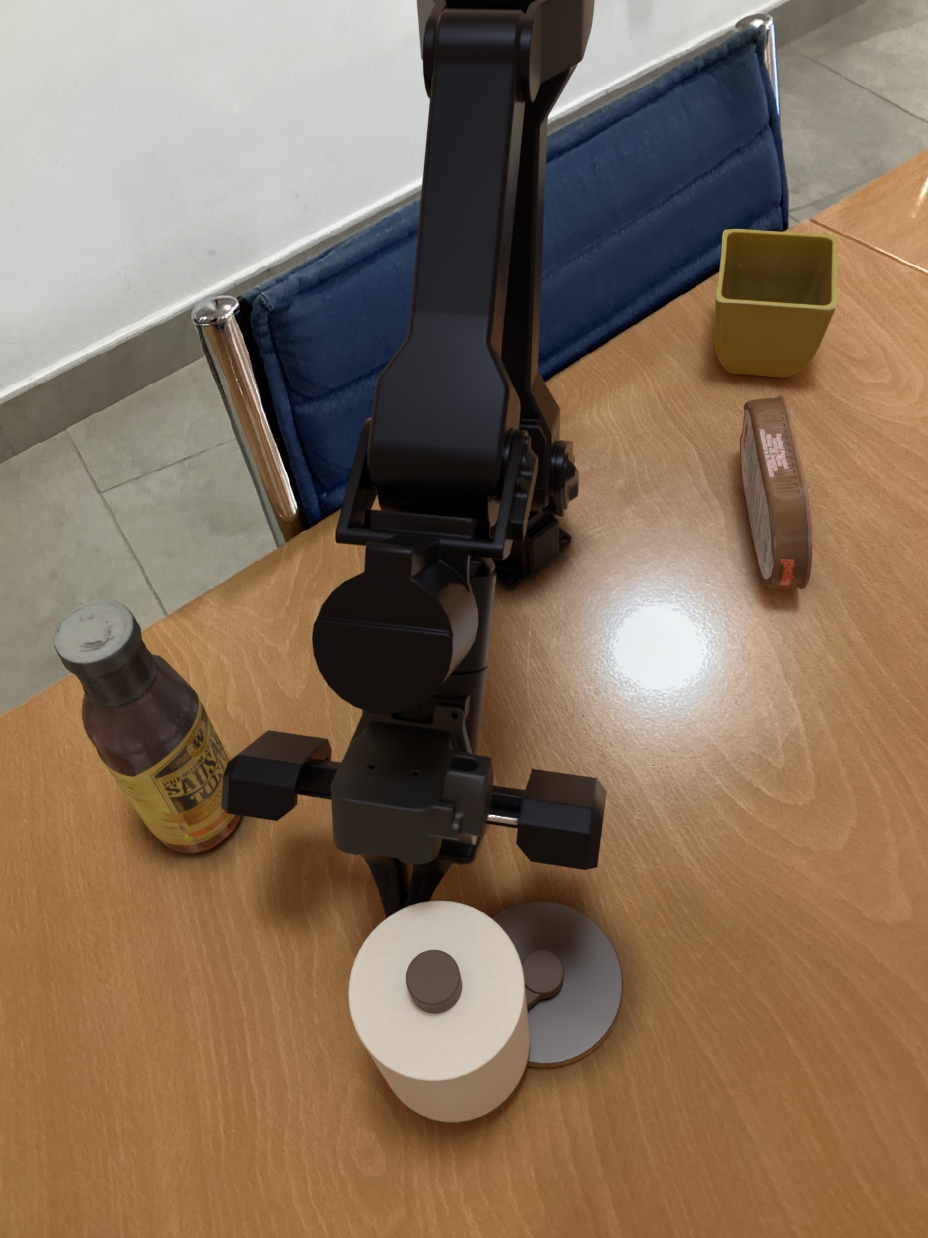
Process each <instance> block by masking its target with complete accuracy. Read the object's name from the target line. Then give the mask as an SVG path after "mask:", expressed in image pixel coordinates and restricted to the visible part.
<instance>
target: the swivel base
mask: <svg viewBox="0 0 928 1238" xmlns="http://www.w3.org/2000/svg"><path fill="white" fill-rule="evenodd" d="M491 918H492V919H493V920H494V921H495V922H496V923H497V924H498V925H499V926H500V927H501V928H502V929H503V930H504V931H505V932H506V934H507V935H508V936H509V938H510V939H511V941H512V943H513V944H514V946H515V948H516V950H517V953H518V955H519V958H520V961H521V963H522V961H523V959H524V958H525V957H526V956H527V955H528V954H529V953H531V952H533V951H536V950H548V951H550V952H552V953H554V954H555V955H556V956H557V957H558V958H559V959H560V960H561V962H562V965H563V968H564V981H563V985H562V987H561V989H560V991H559V992H558V993H557V994H556V995H554V996H553V997H550V998H547V999H540V1000H538V1001H537V1002H536V1003H535V1004H534V1005H532V1006H531V1007H530V1008H529V1009H527V1014H528V1025H529V1037H530V1050H529V1059H528V1063H527V1067H531V1068H539V1069H551V1068H559V1067H564V1066H568V1065H571V1064H573V1063H575V1062H578V1061H579V1060H582V1059H584V1058H585V1057H586V1056H588V1055H590V1054H592V1052H594V1051H595V1050H596V1049H597V1048H598V1047H599V1046H600V1045H601V1044H602V1043H603V1042H604V1041H605V1040H606V1039H607V1037H608V1035H609V1034H610V1033H611V1031H612V1030H613V1028H614V1026H615V1024H616V1022H617V1019H618V1016H619V1014H620V1013H619V1012H620V1010H621V1006H622V1001H623V994H624V977H623V976H624V975H623V969H622V963H621V960H620V958H619V955H618V952H617V950H616V948H615V946H614V944H613V942H612V940H611V939H610V937H609V936H608V934H607V933H606V931H604V929H603V928H602V927H601V926H600V925H599V924H598V923H597V922H595V920H594V919H592V918H591V917H589V916H588V915H587V914H585V913H584V912H582V911H580V910H578V909H576V908H574V907H572V906H569V905H566V904H563V903H559V902H554V901H545V900H542V901H539V900H538V901H529V902H523V903H519V904H515V905H513V906H511V907H509V908H506V909H504V910H503V911H501V912H499V913H498V914H496V915H494V916H493V917H491Z"/></svg>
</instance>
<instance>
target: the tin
mask: <svg viewBox="0 0 928 1238" xmlns="http://www.w3.org/2000/svg"><path fill="white" fill-rule="evenodd" d="M790 412H791V411H790V408H789V405H788V402H787V400H786V398H785V396H783V395H777V396H775V397H766V398H755V399H750V400H748V401H746V402H745V403H744V404H743V419H742V420H743V421H742V431H741V433H740V438H739V459H740V461H739V463H740V477H741V483H742V490H743V491H742V492H743V496H744V502H745V508H746V513H747V520H748V526H749V531H750V537H751V542H752V548H753V552H754V556H755V557H754V558H755V563H756V567H757V572H758V575H759V578H760V581H761V584H762V585H763V587H765V588H766V589H768V590H787V589H800V590H804V589H805V588H806V587H807V586H808V584H809V582H810V578H811V574H812V573H811V572H812V565H813V541H814V539H813V522H812V512H811V504H810V499H809V498H810V497H809V494H808V493H809V492H808V487H807V484H806V478H805V474H804V471H803V465H802V461H801V455H800V453H799V448H798V443H797V439H796V434H795V430H794V427H793V421H792V416H791V413H790Z"/></svg>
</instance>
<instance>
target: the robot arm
mask: <svg viewBox="0 0 928 1238" xmlns="http://www.w3.org/2000/svg"><path fill="white" fill-rule="evenodd" d="M595 1H596V0H416V10H417V11H416V12H417V23H418V24H417V25H418V36H419V38H418V39H419V49H420V51H419V52H420V60H421V61H422V77H423V83H424V84H423V85H424V89H425V94H426V97H427V98H428V99H429V104H428V113H427V114H428V116H427V125H426V135H425V149H424V158H423V168H422V169H423V171H422V180H421V192H420V203H419V212H418V213H419V214H418V225H417V235H416V248H415V255H414V256H415V258H414V268H413V278H412V281H413V282H412V289H411V301H410V311H409V320H408V326H407V334H406V338H405V340H404V341H403V343H402V344H401V345H400V347H399V348H398V349H397V351H396V352H395V354H393V356H392V357H391V358H390V360H389V362H388V363H387V364H386V366H384V368H383V370H382V371H381V372H380V374H379V375H378V376H377V378H376V382H375V391H374V396H373V403H372V404H373V405H372V413H371V417H369V418H367V419H366V420H365V421H364V423H363V425H362V429H361V431H360V434H359V438H358V442H357V446H356V449H355V454H354V458H353V461H352V465H351V469H350V473H349V477H348V480H347V481H348V482H347V485H346V489H345V493H344V497H343V500H342V504H341V509H340V512H339V517H338V520H337V524H336V528H335V533H334V534H335V535H334V540H335V543H336V544H338V545H351V546H359V547H365V551H364V552H365V553H364V564H363V565H364V569H363V571H362V572H361V573H359V574H357V575H354V576H352V577H351V578H348V579H346V580H345V581H343V582H342V583H341V584H339V585H338V586H336V588H334V589H333V590H332V591H331V592H330V594H329V595H328V596H327V598H326V599H325V600H324V601H323V603H322V605H321V606H320V610H319V612H318V614H317V617H316V619H315V621H314V623H313V626H312V635H311V642H312V651H313V652H312V653H313V657H314V660H315V663H316V666H317V668H318V671H319V673H320V675H321V676H322V679H323V680H324V681H325V683H326V684H327V686H328V687H329V688H330V689H331V690H332V691H333V692H334V693H335V695H337V696H338V697H339V698H340V699H341V700H343V701H344V702H346V703H348V705H351V706H353V707H354V708H357V709H359V710H361V716H360V719H359V721H358V724H357V726H356V728H355V730H354V731H353V732H354V733H353V734H352V737H351V739H350V741H349V744H348V747H347V749H346V751H345V754H344V755H343V758H342V759H341V762H340V761H334V760H332V755H333V754H332V753H333V750H332V746H331V744H330V740H329V738H326V737H325V738H324V737H318V736H312V735H305V734H304V735H303V734H297V733H291V732H284V731H277V730H270V729H267V730H266V731H265V732H264V733H262V734H261V735H260V736H259V737H257V738H256V739H255V740H254V741H252V742H251V743H250V744H249V745H248V746H246V747H245V748H244V749H243V750H241V751H240V752H239V753H238V754H236V755H235V756H234V757H233V758H231V759H229V760H230V761H229V762H228V764H227V766H226V769H225V772H224V775H223V783H222V802H221V808H222V809H223V810H224V811H225V812H227V813H229V814H235V815H241V816H242V817H247V818H255V819H261V820H266V821H274V822H279V821H280V820H281V819H282V818H284V817H285V816H286V815H287V814H288V813H291V811H292V810H294V808H296V806H297V805H298V799H299V796H303V797H304V796H306V797H311V798H316V799H324V800H330V801H331V821H332V822H331V823H332V840H333V841H332V842H333V845H334V846H335V848H336V849H337V850H339V851H340V852H342V853H345V854H349V855H354V856H360V857H361V858H362V859H363V860H364V861H365V863H366V865H367V867H368V869H369V872H370V874H371V875H372V878H373V880H374V883H375V885H376V888H377V891H378V894H379V898H380V901H381V905H382V909H383V912H384V915H385V919H387V918H388V917H389V916H391V915H392V914H394V913H396V912H397V911H399V910H401V909H404V908H406V907H408V906H411V905H414V904H418V903H422V902H428V901H432V897H433V895H434V893H435V891H436V890H437V888H438V886H439V885H440V883H441V882H442V880H443V878H444V877H445V875H446V874H447V872H448V871H449V869H450V868H451V867H452V866H453V865H470V864H473V863H474V862H475V861H476V860H477V857H478V855H479V852H480V850H481V848H482V847H481V846H482V844H483V842H484V840H485V838H486V834H487V832H488V830H489V826H490V825H493V826H497V827H498V826H499V827H503V828H504V827H505V828H511V829H516V830H517V831H516V840H515V844H516V846H517V847H518V848H519V849H520V851H521V852H522V853H523V854H524V855H525V856H526V858H527V859H528V860H529V862H531V863H536V864H543V865H548V866H549V865H550V866H557V867H562V868H567V869H574V870H581V871H588V870H592V869H596V868H598V866H599V865H598V864H599V858H600V851H601V849H600V848H601V841H602V835H603V834H602V833H603V826H604V817H605V810H606V809H605V808H606V800H607V794H608V793H607V790H606V789H605V787H604V785H603V784H602V783H601V781H600V780H599V778H597V777H593V776H585V775H580V774H572V773H567V772H559V771H552V770H544V769H538V768H532V769H531V771H530V774H529V776H528V777H529V778H528V781H527V783H526V786H525V789H522V788H515V787H509V786H501V785H496V784H495V785H494V765H493V758H492V757H491V756H485V755H479V754H480V753H479V752H480V741H481V732H482V722H483V713H484V703H485V702H484V701H485V694H486V693H485V692H486V682H487V675H488V674H487V673H488V662H489V651H490V641H491V632H492V621H493V613H494V602H495V591H496V584H497V583H498V584H499V585H500V586H501V587H503V588H504V589H506V590H509V591H510V590H514V589H516V588H517V587H519V585H521V584H522V583H524V581H526V580H527V579H529V578H530V577H531V576H533V575H536V574H537V573H539V572H540V571H541V570H543V569H544V568H545V567H546V566H548V565H549V564H551V563H552V562H553V561H555V559H557V558H558V557H559V556H560V554H561V553H562V552H564V551H565V550H566V549H567V548H568V547H570V546H571V545H572V536H571V535H570V533H568V532H567V531H565V530H564V529H563V528H561V527H560V525H559V524H560V523H559V522H560V520H559V518H558V517H562V518H565V514H566V510H568V507H569V504H570V502H572V501H573V500H575V499H576V498H578V496H579V490H580V472H579V469H578V468H577V466H576V465H575V464H576V456H575V455H574V440H573V441H572V440H561V439H560V432H561V431H560V429H561V428H560V427H561V408H560V406H559V404H558V403H557V401H556V399H555V398H554V396H553V394H552V392H551V391H550V389H549V387H548V386H547V384H546V382H545V381H544V379H543V377H542V376H541V374H540V372H539V370H538V369H539V344H540V321H541V320H540V319H541V296H542V295H541V293H542V270H543V269H542V267H543V246H544V245H543V243H544V221H545V218H544V217H545V196H546V195H545V194H546V193H545V192H546V169H547V143H548V123H549V122H548V121H549V115H550V114H551V112H552V111H553V109H554V107H555V105H556V104H557V102H558V100H559V98H560V97H561V95H562V93H563V91H564V90H565V88H566V86H567V85H568V83H569V81H570V80H571V78H572V75H573V74H574V72H575V70H576V69H577V67H578V64H579V63H581V62H582V61H583V60H584V57H585V53H586V51H587V47H588V44H589V40H590V36H591V32H592V29H593V22H594V15H595V13H594V12H595V3H596V2H595ZM376 499H377V501H378V505H379V508H380V509H373V506H374V503H375V501H376ZM496 582H497V583H496ZM508 582H510V583H508ZM241 816H240V817H241Z"/></svg>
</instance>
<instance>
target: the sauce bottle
mask: <svg viewBox="0 0 928 1238" xmlns="http://www.w3.org/2000/svg"><path fill="white" fill-rule="evenodd" d="M53 632H54V633H53V637H52V639H53V640H52V641H53V642H52V643H53V646H54V650H55V652H56V654H57V656H58V657H59V659H60V662H61V663H62V665H63V666H64V668H66V670H67V671H68V672H69V673H71V674H73V675H75V676H76V678H77V679H78V681H79V682H80V684H81V686H82V690H83V692H84V694H83V698H82V703H81V721H82V725H83V728H84V731H85V733H86V735H87V738H88V739H89V740H90V742H91V743H92V745H93V746H94V747H95V749H96V753H97V755H98V757H99V759H100V760H101V761H102V763H103V765H104V766H105V767H106V769H107V770H108V772H109V773H110V774H111V776H112V777H113V779H114V781H115V782H116V784H117V785H118V787H119V788H120V789H121V790H122V792H123V794H124V795H125V797H126V798H127V800H128V801H129V803H130V804H131V806H132V807H133V809H134V810H135V811H136V813H137V815H138V816H139V818H140V819H141V821H142V822H143V824H144V825H145V826H146V828H147V829H148V831H150V833H151V834H152V835H153V836H155V838H156V839H158V840H159V841H160V842H161V843H162V844H163V845H165V846H166V847H167V848H169V849H171V850H173V851H176V852H177V853H184V854H198V853H202V852H205V851H208V850H211V849H213V848H215V847H216V846H218V845H219V844H220V843H222V842H223V841H224V840H225V839H227V838H228V837H229V836H230V835H231V833H232V832H234V831H235V829H236V826H237V825H238V824H239V823H240V821H241V815H235V814H229V813H227V812H225V811H224V810H223V809H222V808H221V802H222V783H223V775H224V772H225V769H226V766H227V764H228V762H229V761H230V760H231V759H230V758H229V756H228V753H227V751H226V749H225V747H224V745H223V744H222V742H221V739H220V737H219V735H218V733H217V730H216V729H215V726H214V725H213V723H212V722H211V719H210V717H209V715H208V713H207V711H206V708H205V706H204V705H203V703H202V701H201V699H200V697H199V694H198V693H197V692H196V690H195V689H194V688H193V687H192V686H191V684H189V683H188V681H186V680H185V678H183V676H182V675H180V673H178V671H177V670H176V669H175V668H174V667H173V666H171V664H169V662H168V661H167V660H166V659H165V658H163V657H162V656H161V655H158V654H154V653H152V652H151V651H150V650H149V649H148V648H147V646H146V644H145V642H144V640H143V637H142V636H143V635H142V629H141V626H140V624H139V622H138V621H137V619H136V617H135V615H134V614H133V612H132V611H131V610H130V609H129V608H128V607H127V606H126V605H125V604H124V603H121V602H119V601H117V600H116V599H115V600H114V599H108V598H99V599H92V600H89V601H86V602H84V603H80V604H78V605H76V606H75V607H73V608H72V609H70V610H69V611H68V612H67V613H66V614H64V616H62V618H61V619H60V620H59V622H58V625H56V627H55V629H54V631H53Z"/></svg>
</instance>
